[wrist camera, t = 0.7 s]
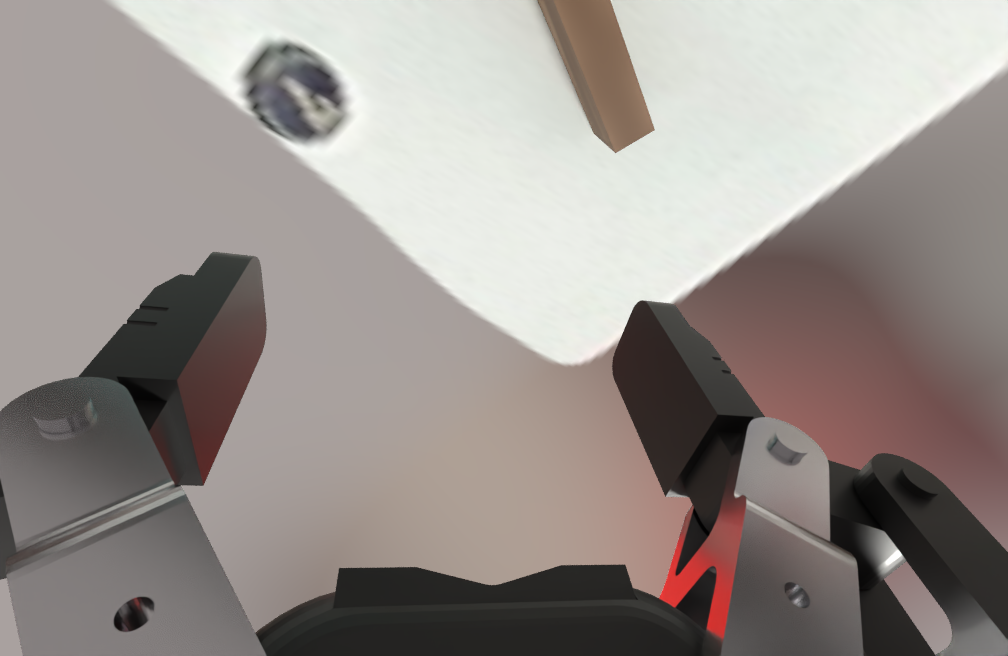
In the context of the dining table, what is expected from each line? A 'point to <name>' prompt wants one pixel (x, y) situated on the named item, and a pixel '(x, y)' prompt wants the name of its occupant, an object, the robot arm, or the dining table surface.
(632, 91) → the brown wooden plank
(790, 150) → the dining table surface
